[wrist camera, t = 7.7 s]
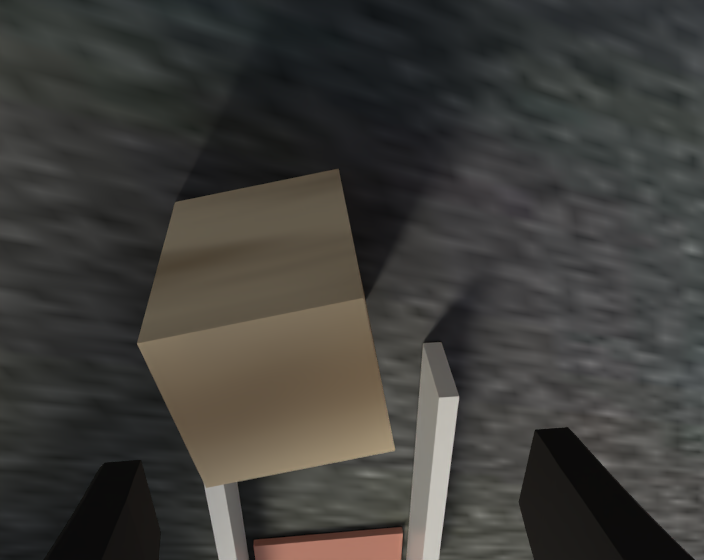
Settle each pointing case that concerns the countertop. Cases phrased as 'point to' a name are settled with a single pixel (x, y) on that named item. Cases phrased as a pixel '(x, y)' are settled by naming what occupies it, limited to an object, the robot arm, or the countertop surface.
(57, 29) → the countertop surface
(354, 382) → the maple block
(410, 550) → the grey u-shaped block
